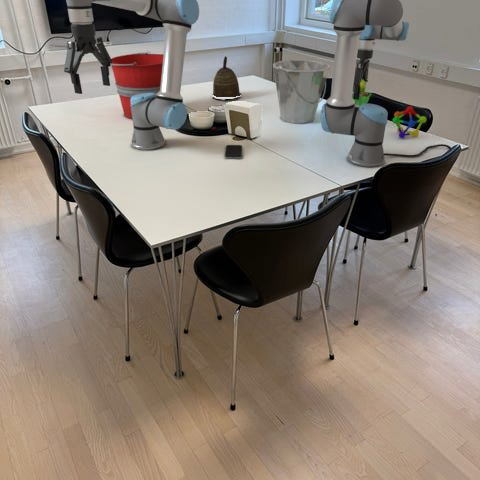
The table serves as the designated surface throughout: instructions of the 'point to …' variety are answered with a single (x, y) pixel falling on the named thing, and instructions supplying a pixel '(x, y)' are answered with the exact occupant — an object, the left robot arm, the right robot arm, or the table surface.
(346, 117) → the right robot arm
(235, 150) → the smartphone
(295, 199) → the table surface
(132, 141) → the left robot arm
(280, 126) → the table surface
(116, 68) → the bucket
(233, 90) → the bell
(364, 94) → the green produce tray
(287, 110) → the bucket
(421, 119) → the educational toy
